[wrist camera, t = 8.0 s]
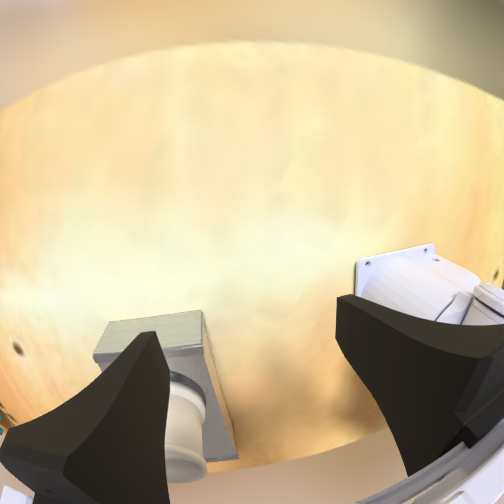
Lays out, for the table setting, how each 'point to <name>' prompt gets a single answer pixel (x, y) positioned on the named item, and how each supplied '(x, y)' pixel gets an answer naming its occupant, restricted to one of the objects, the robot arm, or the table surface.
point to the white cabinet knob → (184, 435)
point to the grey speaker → (181, 369)
